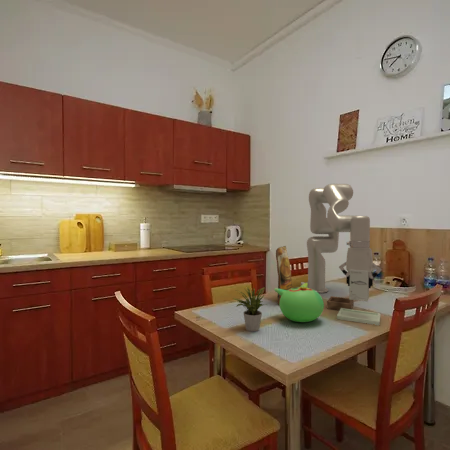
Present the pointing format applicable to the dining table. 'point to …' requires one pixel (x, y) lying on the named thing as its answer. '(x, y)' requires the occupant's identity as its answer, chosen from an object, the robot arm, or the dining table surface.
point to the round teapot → (300, 303)
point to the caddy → (339, 303)
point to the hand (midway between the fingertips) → (359, 286)
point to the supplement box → (359, 285)
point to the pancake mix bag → (283, 270)
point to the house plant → (252, 309)
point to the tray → (359, 316)
